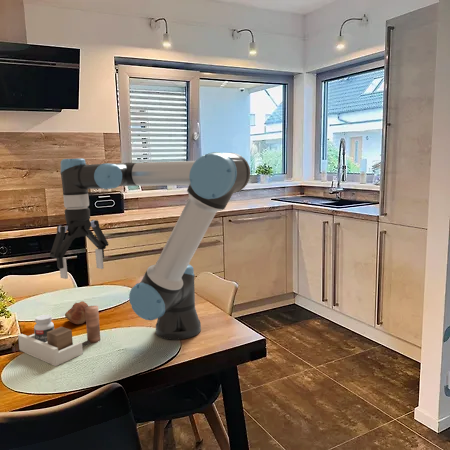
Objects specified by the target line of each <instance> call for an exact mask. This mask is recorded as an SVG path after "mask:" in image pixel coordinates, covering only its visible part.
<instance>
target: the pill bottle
mask: <svg viewBox="0 0 450 450" xmlns="http://www.w3.org/2000/svg"><path fill="white" fill-rule="evenodd" d="M52 318H53V317H52V315H51V314H41V315H37V316H36V317H34V323H36V324H34V326H33V331H34V333H33V334H35V339H37V340H39V341H42V342H47V332H48V331H51V330H54V329H55V325H54V322H53V321H52V320H53V319H52Z"/></svg>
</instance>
